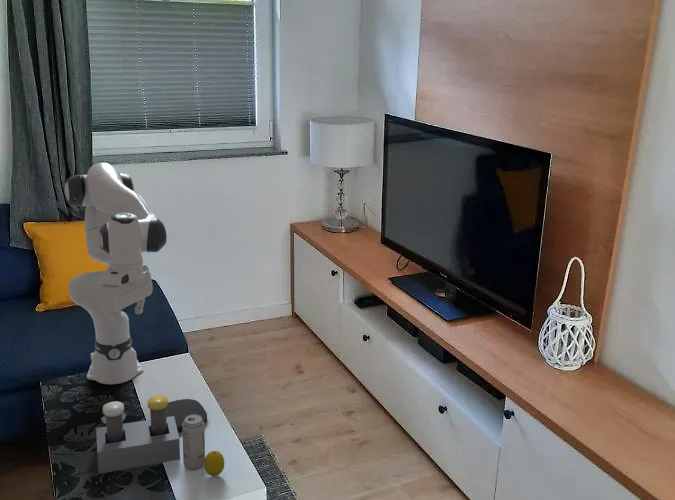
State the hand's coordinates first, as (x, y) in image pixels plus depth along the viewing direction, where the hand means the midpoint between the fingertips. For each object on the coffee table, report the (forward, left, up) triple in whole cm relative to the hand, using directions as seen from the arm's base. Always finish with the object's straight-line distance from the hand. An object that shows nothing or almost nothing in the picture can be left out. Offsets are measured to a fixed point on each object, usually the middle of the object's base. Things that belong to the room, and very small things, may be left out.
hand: (129, 318), depth 188 cm
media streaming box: (-5, +14, -39) cm, 42 cm away
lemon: (+26, +19, -39) cm, 50 cm away
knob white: (+10, -6, -33) cm, 35 cm away
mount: (+10, 0, -38) cm, 40 cm away
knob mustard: (+10, +6, -33) cm, 35 cm away
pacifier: (-9, -6, -39) cm, 40 cm away
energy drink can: (+20, +14, -39) cm, 46 cm away
